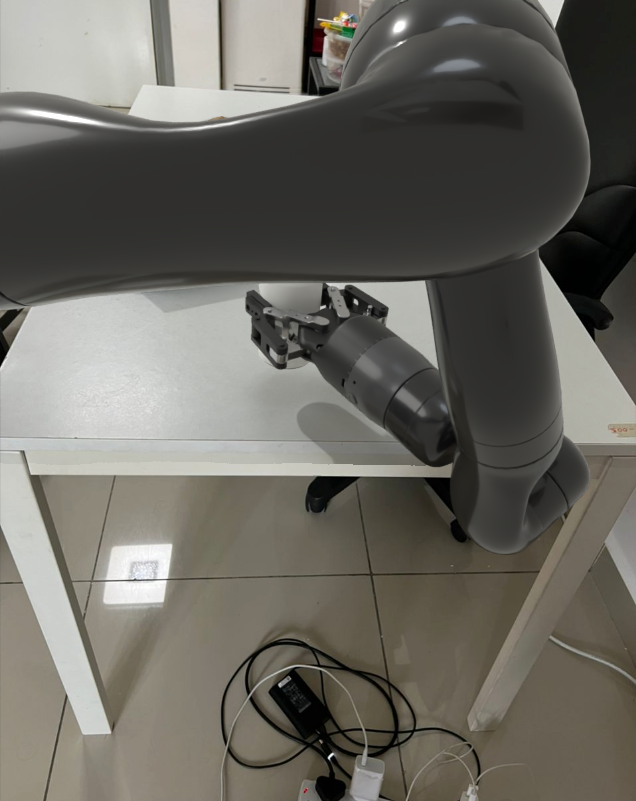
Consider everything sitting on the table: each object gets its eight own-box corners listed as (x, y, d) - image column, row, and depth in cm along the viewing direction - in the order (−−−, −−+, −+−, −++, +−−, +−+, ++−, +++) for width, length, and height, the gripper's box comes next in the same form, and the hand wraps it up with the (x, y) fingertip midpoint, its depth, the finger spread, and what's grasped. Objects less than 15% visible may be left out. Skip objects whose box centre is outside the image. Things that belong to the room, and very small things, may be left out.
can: (321, 369, 70) (331, 272, 62) (262, 373, 68) (265, 274, 61) (308, 334, 75) (317, 240, 67) (253, 338, 73) (255, 241, 65)
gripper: (443, 317, 60) (333, 242, 69) (321, 366, 53) (217, 275, 62) (427, 379, 65) (326, 301, 74) (313, 432, 58) (218, 338, 67)
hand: (277, 289), depth 68 cm, fingers closed on can, 6 cm apart
